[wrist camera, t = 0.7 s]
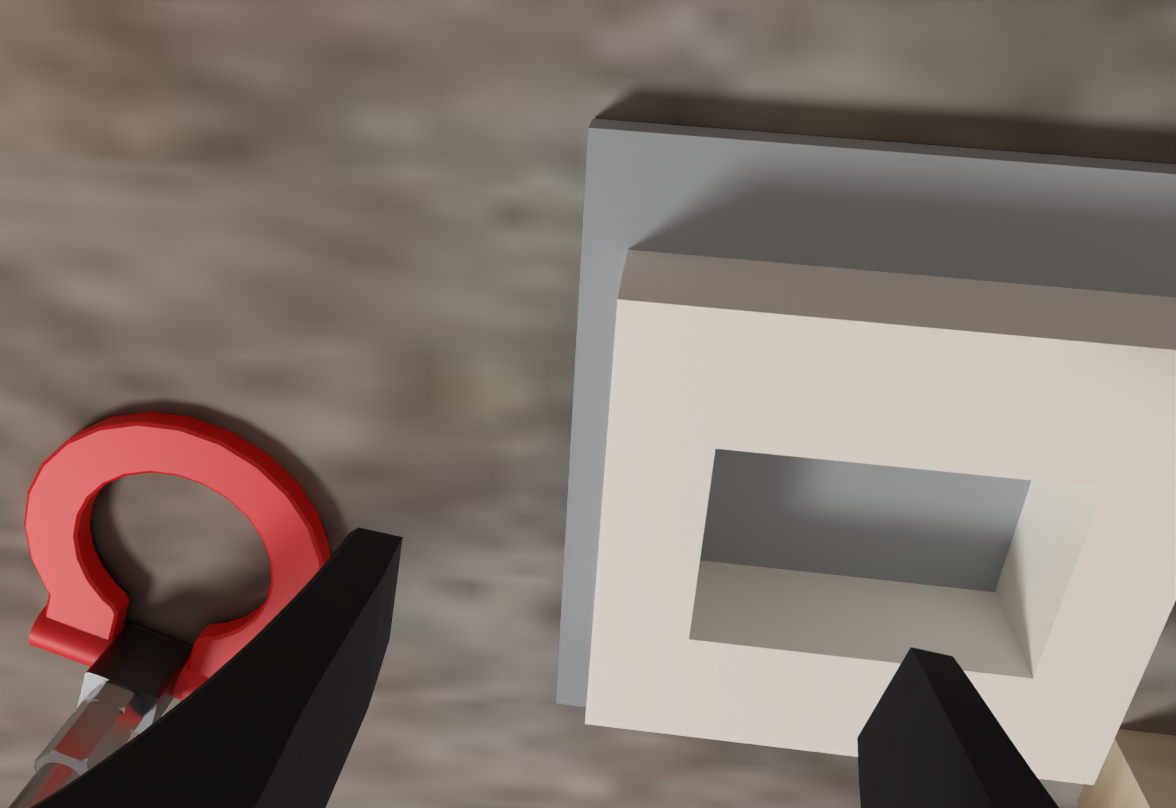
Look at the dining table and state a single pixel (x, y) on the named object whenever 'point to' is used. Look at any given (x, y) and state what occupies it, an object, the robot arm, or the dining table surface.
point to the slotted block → (867, 435)
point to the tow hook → (98, 606)
